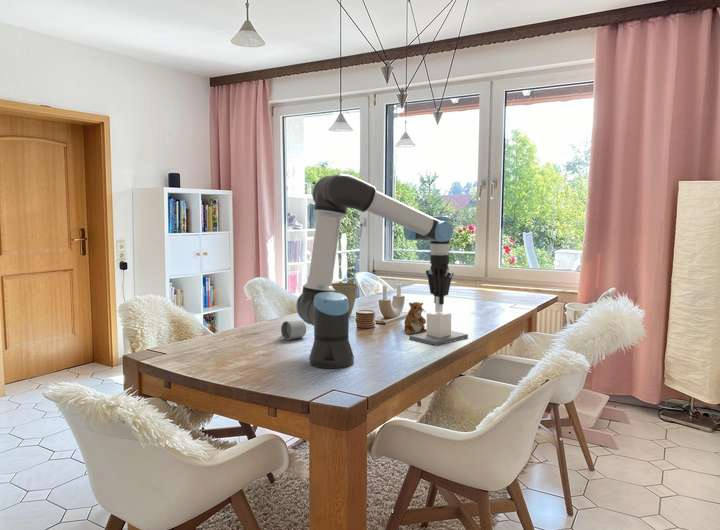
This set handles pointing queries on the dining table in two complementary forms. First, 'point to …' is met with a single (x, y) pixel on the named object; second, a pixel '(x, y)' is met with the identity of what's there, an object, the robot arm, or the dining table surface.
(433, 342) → the post base
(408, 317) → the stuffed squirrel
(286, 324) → the ceramic mug
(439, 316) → the white rounded cube
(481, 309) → the dining table surface
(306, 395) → the dining table surface
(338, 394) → the dining table surface
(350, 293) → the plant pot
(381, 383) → the dining table surface
